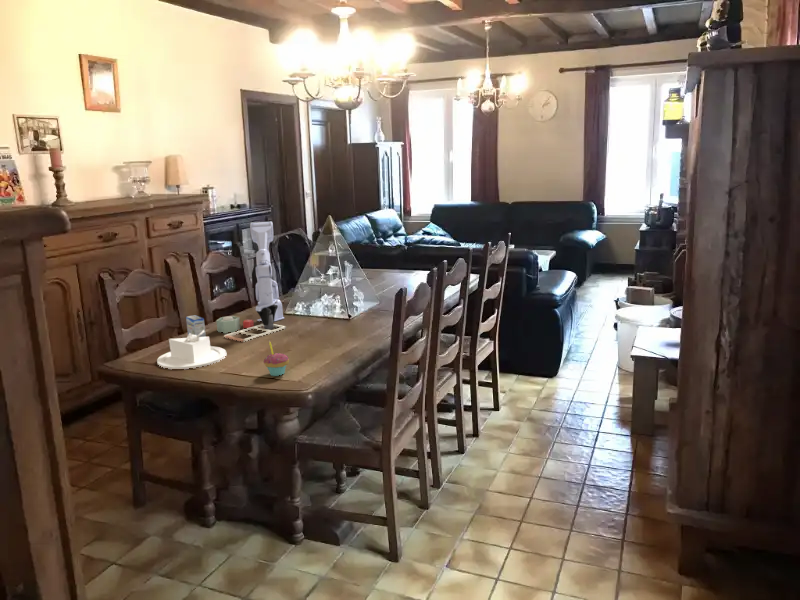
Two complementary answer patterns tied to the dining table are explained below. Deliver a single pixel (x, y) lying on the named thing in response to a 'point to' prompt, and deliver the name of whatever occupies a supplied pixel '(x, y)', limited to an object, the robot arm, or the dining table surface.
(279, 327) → the game track
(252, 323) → the red die
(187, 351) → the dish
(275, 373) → the cupcake
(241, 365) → the dining table surface
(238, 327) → the dome base
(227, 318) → the dome
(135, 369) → the dining table surface
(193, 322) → the medicine box
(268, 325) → the pawn
